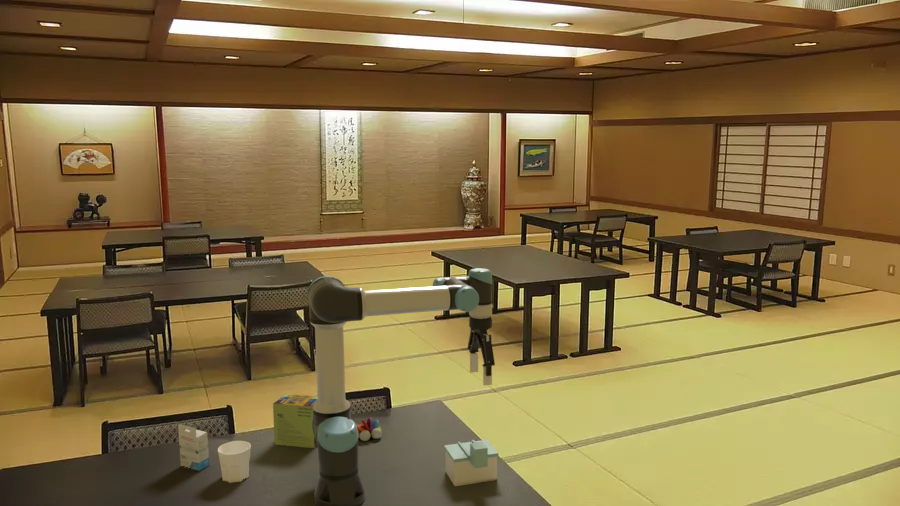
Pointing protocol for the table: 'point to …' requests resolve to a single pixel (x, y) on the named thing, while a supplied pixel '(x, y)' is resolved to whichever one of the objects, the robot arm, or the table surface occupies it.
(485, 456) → the lid
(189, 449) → the ink box
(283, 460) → the table surface
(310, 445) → the protein box
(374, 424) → the rainbow disc toy
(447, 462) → the tub
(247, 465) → the cup
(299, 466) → the table surface
